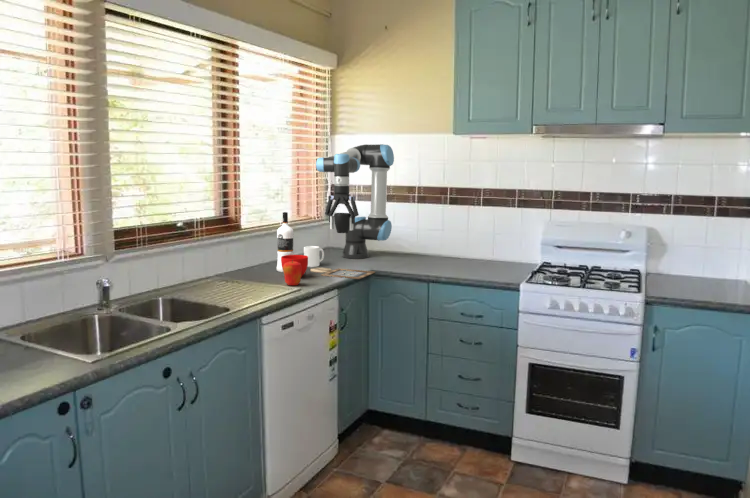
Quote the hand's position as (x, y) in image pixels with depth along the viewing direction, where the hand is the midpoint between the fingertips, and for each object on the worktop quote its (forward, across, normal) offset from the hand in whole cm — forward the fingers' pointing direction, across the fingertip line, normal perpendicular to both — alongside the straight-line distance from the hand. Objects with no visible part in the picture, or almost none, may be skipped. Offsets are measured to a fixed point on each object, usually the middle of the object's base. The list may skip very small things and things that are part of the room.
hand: (341, 229), depth 314 cm
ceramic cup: (+22, -14, -21) cm, 33 cm away
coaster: (+21, -11, -2) cm, 24 cm away
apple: (+21, -5, -39) cm, 45 cm away
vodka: (+22, -26, -11) cm, 36 cm away
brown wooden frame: (+21, +6, -4) cm, 23 cm away
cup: (+22, -21, +10) cm, 32 cm away
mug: (+1, 0, 0) cm, 2 cm away
